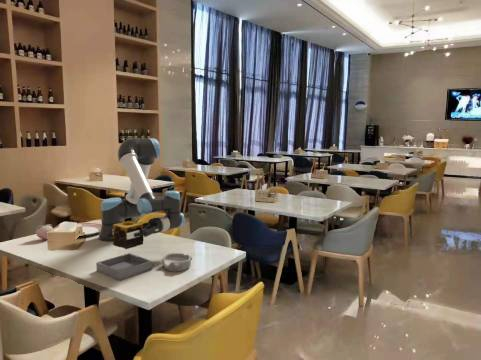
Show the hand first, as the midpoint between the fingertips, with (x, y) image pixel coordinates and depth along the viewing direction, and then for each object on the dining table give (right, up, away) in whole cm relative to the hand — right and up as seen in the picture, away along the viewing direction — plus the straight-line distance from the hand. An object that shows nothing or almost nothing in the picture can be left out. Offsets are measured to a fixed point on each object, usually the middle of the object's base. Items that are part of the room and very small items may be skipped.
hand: (120, 234), depth 179 cm
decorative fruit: (-59, -11, +51) cm, 79 cm away
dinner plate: (-44, -9, +67) cm, 81 cm away
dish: (+24, -17, +10) cm, 31 cm away
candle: (+3, -6, +4) cm, 8 cm away
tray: (+1, -17, +5) cm, 18 cm away
